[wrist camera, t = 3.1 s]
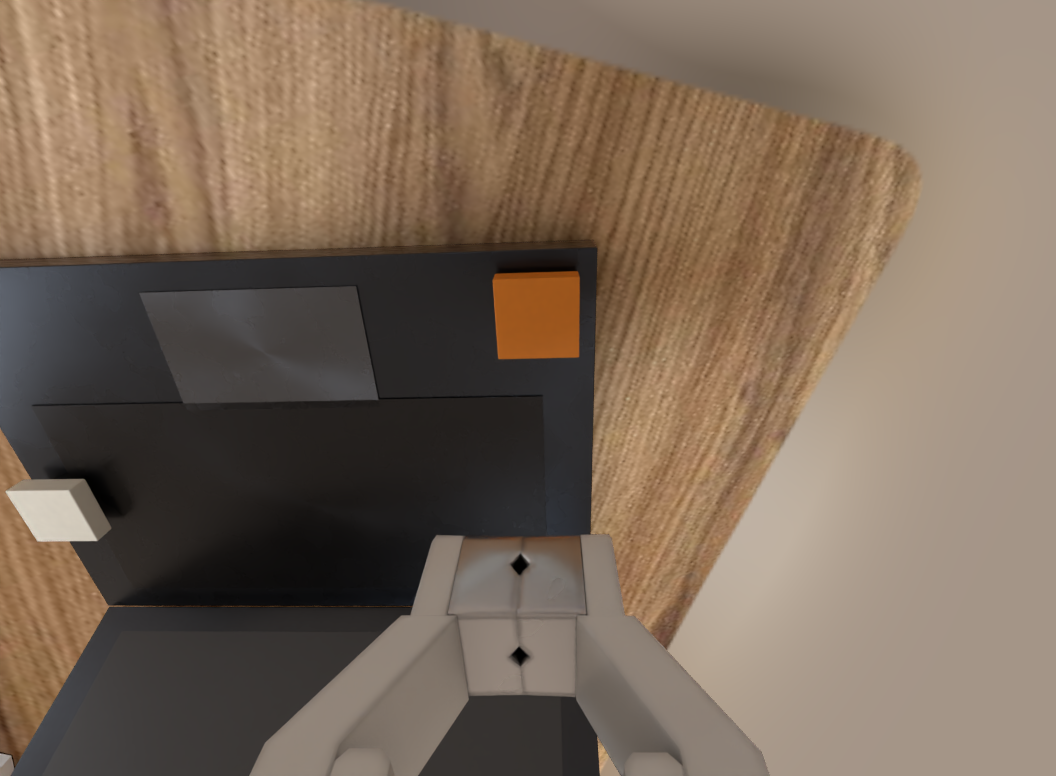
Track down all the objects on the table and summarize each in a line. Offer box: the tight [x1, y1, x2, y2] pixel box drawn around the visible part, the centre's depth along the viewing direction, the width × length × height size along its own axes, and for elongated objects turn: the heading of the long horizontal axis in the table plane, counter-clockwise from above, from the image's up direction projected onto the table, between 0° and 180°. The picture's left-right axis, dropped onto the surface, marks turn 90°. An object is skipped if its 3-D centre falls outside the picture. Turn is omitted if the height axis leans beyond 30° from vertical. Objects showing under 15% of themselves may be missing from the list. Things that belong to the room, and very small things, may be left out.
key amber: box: [493, 271, 580, 359], centre depth 20 cm, size 3×3×1 cm
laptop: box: [0, 240, 597, 606], centre depth 26 cm, size 21×30×2 cm
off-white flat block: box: [6, 479, 111, 541], centre depth 26 cm, size 3×3×1 cm
